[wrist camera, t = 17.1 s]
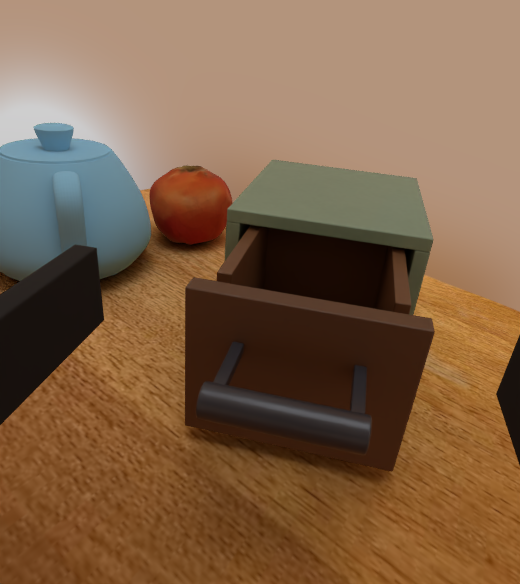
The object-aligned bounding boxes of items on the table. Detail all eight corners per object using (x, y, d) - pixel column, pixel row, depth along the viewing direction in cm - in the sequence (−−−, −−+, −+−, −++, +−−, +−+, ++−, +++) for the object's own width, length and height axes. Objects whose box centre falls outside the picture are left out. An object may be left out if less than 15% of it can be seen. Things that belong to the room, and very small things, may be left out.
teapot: (177, 297, 41) (176, 149, 35) (-101, 340, 33) (-164, 157, 27) (129, 219, 57) (123, 107, 51) (-69, 235, 49) (-105, 104, 43)
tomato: (179, 261, 48) (179, 182, 44) (134, 231, 54) (131, 160, 50) (250, 242, 54) (255, 171, 50) (202, 217, 60) (203, 152, 56)
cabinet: (395, 381, 34) (433, 239, 28) (220, 347, 36) (227, 208, 30) (390, 288, 46) (416, 178, 41) (262, 266, 48) (272, 159, 43)
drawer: (395, 561, 21) (449, 406, 17) (147, 498, 23) (139, 344, 18) (388, 335, 37) (415, 227, 33) (243, 309, 39) (251, 203, 35)
